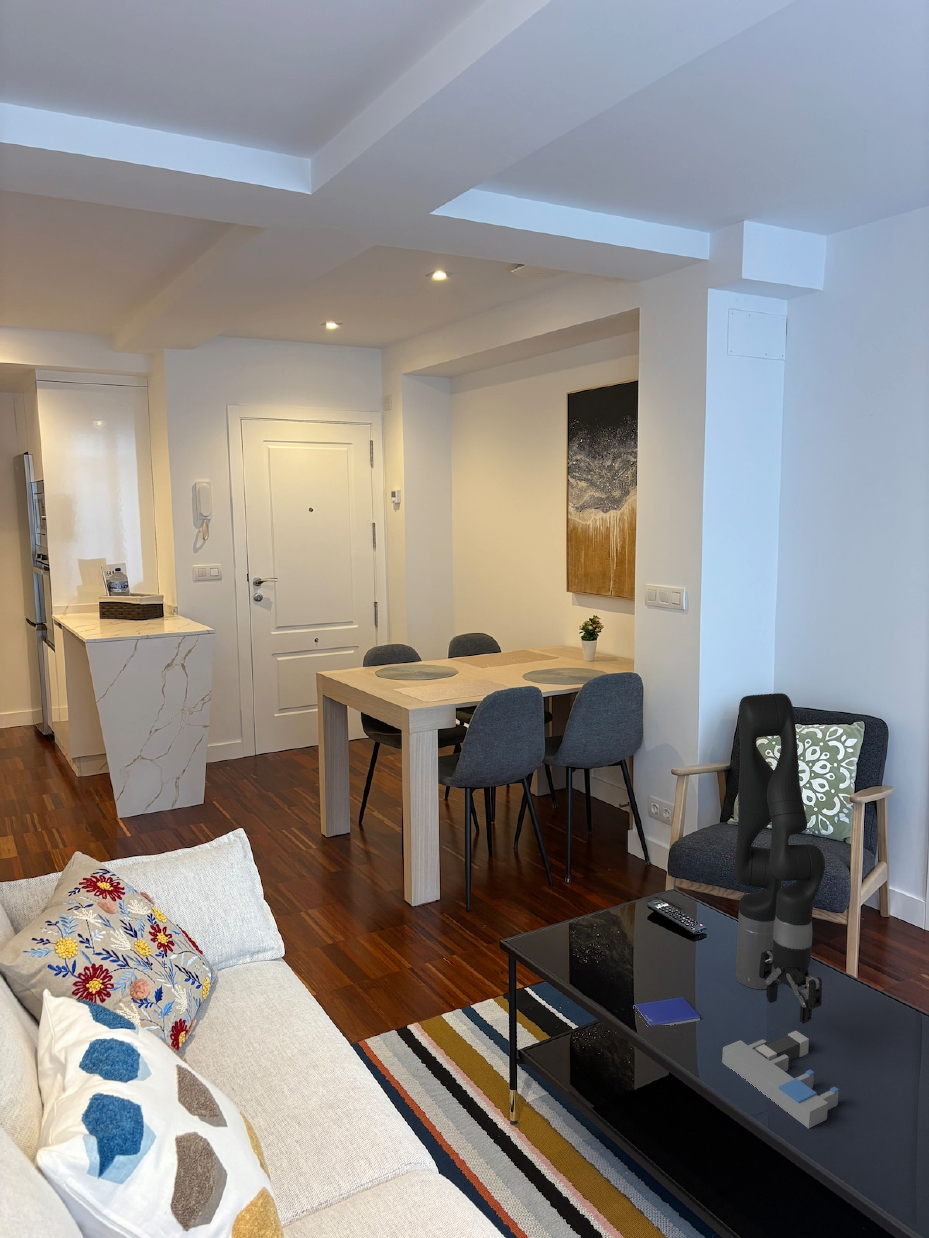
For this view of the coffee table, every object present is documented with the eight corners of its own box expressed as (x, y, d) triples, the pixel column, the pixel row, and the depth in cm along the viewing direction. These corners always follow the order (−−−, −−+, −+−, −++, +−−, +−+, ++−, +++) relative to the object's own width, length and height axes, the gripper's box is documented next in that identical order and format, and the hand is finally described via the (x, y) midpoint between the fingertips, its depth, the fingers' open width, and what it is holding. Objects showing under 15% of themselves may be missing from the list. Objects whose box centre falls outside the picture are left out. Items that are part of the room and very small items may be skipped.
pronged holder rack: (756, 1047, 192) (757, 1030, 192) (844, 1109, 173) (846, 1091, 173) (722, 1062, 187) (722, 1045, 187) (808, 1128, 169) (809, 1109, 168)
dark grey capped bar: (795, 1044, 193) (795, 1030, 193) (807, 1053, 190) (808, 1038, 190) (754, 1062, 188) (755, 1047, 187) (767, 1071, 185) (768, 1056, 184)
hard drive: (649, 1024, 199) (700, 1016, 202) (633, 1003, 206) (682, 995, 210) (649, 1031, 199) (700, 1022, 202) (633, 1010, 207) (682, 1001, 210)
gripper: (833, 949, 181) (828, 1024, 183) (778, 919, 193) (774, 990, 196) (807, 958, 178) (802, 1034, 180) (752, 927, 190) (749, 999, 192)
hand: (787, 1011), depth 188 cm, fingers open, 8 cm apart
